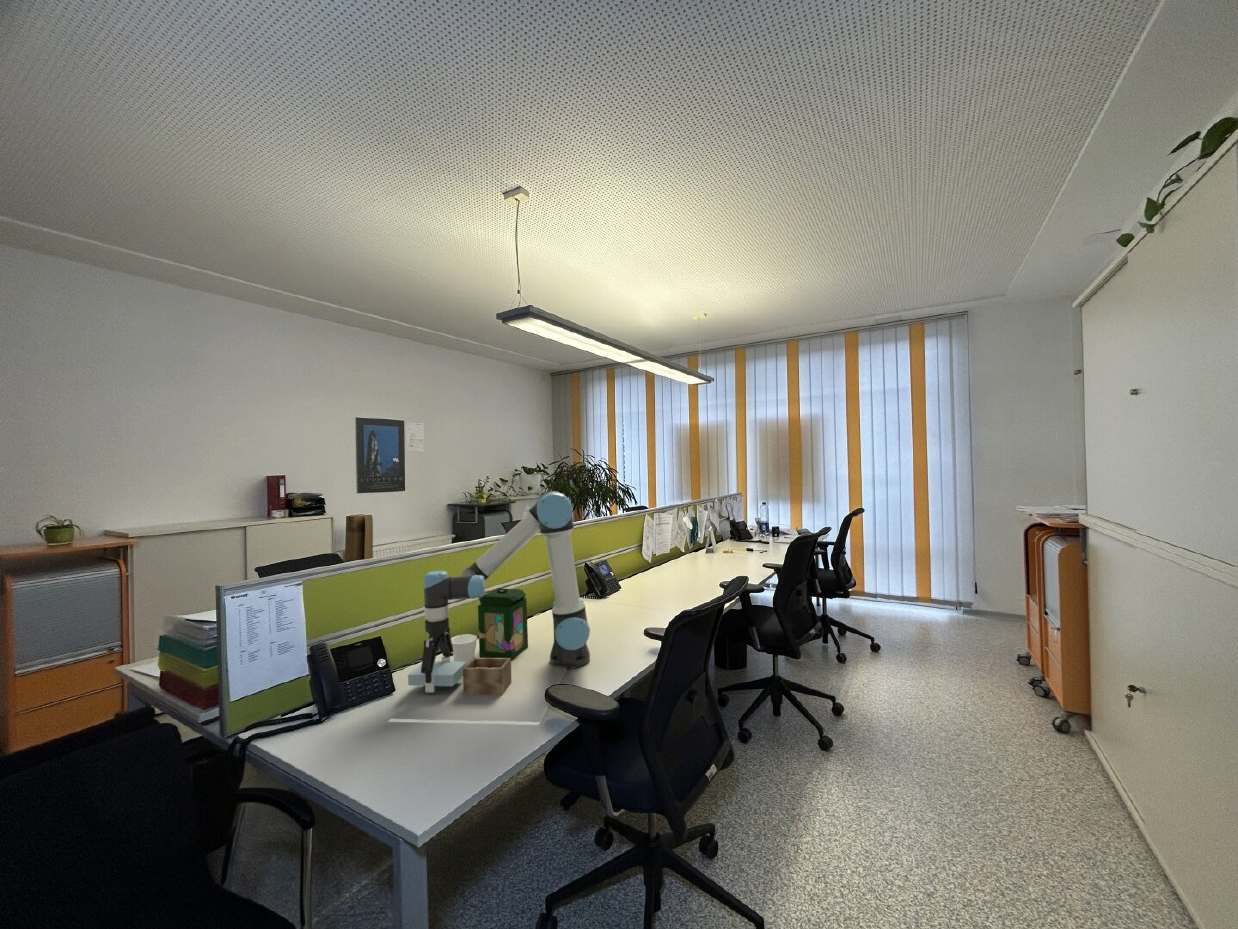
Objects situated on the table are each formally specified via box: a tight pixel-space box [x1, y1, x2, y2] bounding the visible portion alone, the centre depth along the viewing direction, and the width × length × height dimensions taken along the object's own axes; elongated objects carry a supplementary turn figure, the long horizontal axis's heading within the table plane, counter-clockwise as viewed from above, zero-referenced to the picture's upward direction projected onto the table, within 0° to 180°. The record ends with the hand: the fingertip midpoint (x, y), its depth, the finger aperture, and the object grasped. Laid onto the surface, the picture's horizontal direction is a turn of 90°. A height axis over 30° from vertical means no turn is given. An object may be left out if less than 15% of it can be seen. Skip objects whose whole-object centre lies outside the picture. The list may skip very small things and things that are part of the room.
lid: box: [407, 660, 466, 687], centre depth 165 cm, size 15×11×4 cm
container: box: [477, 587, 529, 662], centre depth 196 cm, size 15×18×25 cm
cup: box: [451, 633, 478, 665], centre depth 182 cm, size 10×10×11 cm
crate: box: [462, 657, 513, 696], centre depth 163 cm, size 13×9×9 cm
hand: (438, 683), depth 165 cm, fingers closed on lid, 11 cm apart
